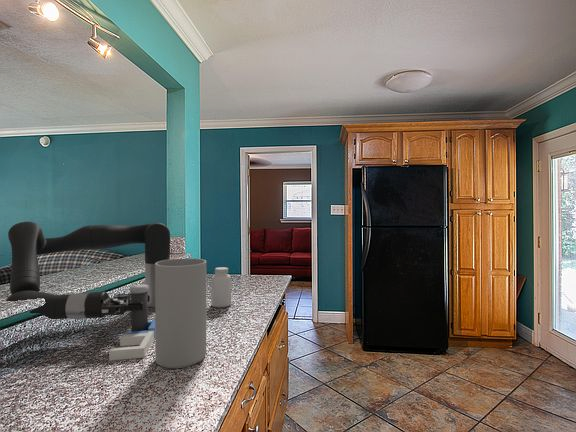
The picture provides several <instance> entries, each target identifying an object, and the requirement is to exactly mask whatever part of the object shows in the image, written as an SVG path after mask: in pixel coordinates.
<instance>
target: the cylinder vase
mask: <svg viewBox="0 0 576 432" xmlns="http://www.w3.org/2000/svg"><path fill="white" fill-rule="evenodd" d="M154 309H155V310H154V312H155V316H154V317H155V319H154V320H155V338H154V339H155V341H154V342H155V345H154V346H155V348H154V349H155V351H154V352H155V353H154V354H155V362H156V364H157V365H158V366H161V367H163V368H166V369H183V368H188V367H191V366H193V365H196V364H199V362H201V361H203V359H204V358H205V357H206V355H207V260H206V259H202V258H190V257H189V258H188V257H187V258H172V259H171V258H170V260H163V261H159V262H156V263H155V307H154Z"/></svg>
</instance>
